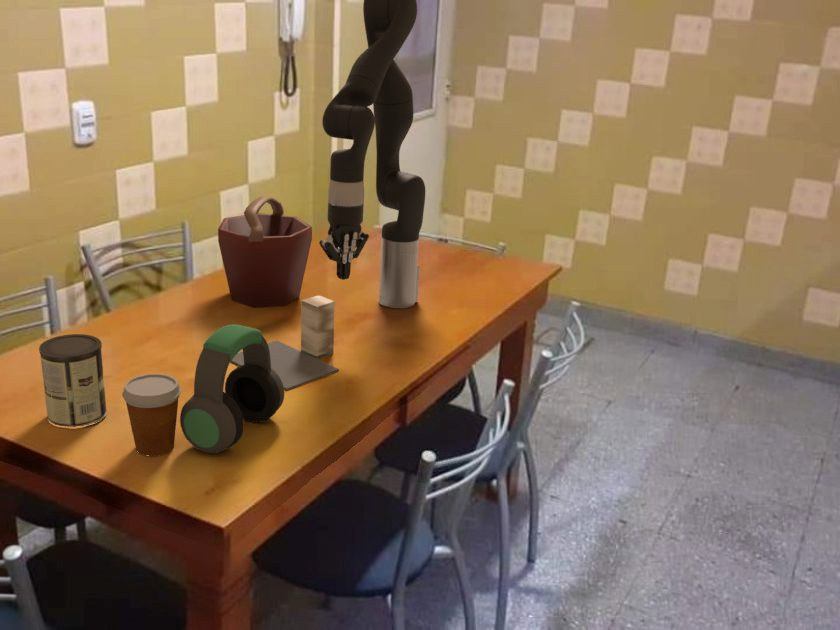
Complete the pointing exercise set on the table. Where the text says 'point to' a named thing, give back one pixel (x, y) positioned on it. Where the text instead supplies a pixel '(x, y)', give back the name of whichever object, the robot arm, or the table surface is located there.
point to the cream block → (317, 326)
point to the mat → (292, 365)
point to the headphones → (230, 389)
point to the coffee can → (73, 380)
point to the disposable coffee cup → (152, 412)
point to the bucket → (264, 255)
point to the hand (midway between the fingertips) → (343, 278)
